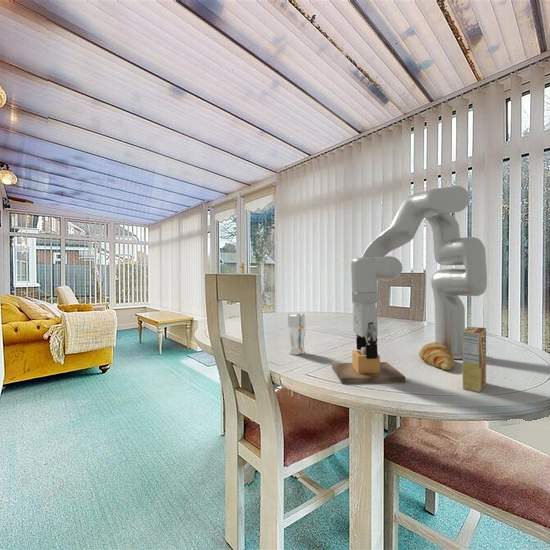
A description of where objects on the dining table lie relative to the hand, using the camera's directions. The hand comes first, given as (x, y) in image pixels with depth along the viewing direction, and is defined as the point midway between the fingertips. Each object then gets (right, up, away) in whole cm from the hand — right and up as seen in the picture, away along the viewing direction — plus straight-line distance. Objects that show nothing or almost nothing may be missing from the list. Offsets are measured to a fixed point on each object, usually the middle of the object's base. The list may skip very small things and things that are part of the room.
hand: (366, 353), depth 92 cm
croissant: (+27, -6, +10) cm, 29 cm away
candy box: (+26, -6, -11) cm, 29 cm away
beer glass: (-19, -7, +26) cm, 33 cm away
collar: (0, -5, 0) cm, 5 cm away
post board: (0, -6, 0) cm, 6 cm away
